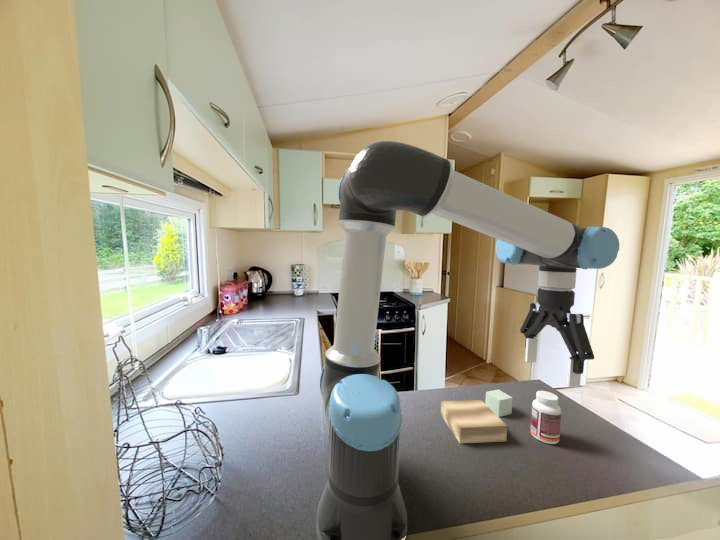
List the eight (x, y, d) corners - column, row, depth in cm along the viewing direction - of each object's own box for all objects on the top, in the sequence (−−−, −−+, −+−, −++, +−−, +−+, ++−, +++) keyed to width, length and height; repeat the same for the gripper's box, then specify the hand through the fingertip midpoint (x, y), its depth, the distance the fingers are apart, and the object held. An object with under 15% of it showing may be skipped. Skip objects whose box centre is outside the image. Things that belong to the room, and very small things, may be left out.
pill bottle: (563, 439, 71) (567, 397, 70) (552, 448, 67) (556, 404, 66) (537, 426, 76) (540, 387, 75) (525, 434, 72) (528, 392, 72)
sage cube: (511, 414, 81) (512, 397, 81) (498, 417, 80) (499, 400, 79) (497, 405, 86) (498, 389, 86) (484, 407, 84) (485, 391, 84)
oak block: (506, 441, 69) (507, 425, 69) (459, 443, 68) (460, 427, 68) (480, 413, 81) (481, 399, 81) (440, 414, 80) (441, 401, 80)
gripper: (622, 297, 57) (612, 398, 58) (533, 282, 82) (528, 353, 83) (588, 297, 56) (580, 399, 58) (509, 282, 81) (505, 354, 82)
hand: (549, 372), depth 70 cm, fingers open, 13 cm apart
